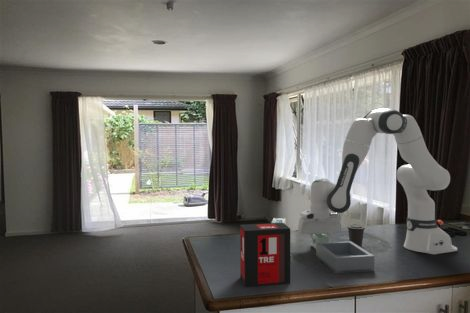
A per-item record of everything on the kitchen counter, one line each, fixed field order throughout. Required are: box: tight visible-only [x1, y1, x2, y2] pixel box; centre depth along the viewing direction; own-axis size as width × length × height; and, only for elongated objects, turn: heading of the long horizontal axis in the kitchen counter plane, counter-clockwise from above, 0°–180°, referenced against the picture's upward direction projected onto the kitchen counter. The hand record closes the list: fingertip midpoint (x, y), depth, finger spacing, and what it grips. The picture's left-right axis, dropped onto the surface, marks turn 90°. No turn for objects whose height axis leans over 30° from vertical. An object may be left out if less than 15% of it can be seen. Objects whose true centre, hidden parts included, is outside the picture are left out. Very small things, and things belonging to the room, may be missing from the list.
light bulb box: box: [270, 217, 287, 226], centre depth 180 cm, size 11×7×11 cm, turn 168°
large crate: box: [315, 240, 375, 274], centre depth 148 cm, size 16×20×6 cm
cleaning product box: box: [239, 222, 291, 288], centre depth 131 cm, size 16×9×20 cm, turn 99°
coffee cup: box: [347, 223, 366, 248], centre depth 171 cm, size 8×8×10 cm
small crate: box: [311, 233, 330, 250], centre depth 169 cm, size 5×9×6 cm, turn 8°
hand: (319, 242), depth 169 cm, fingers closed on small crate, 5 cm apart
